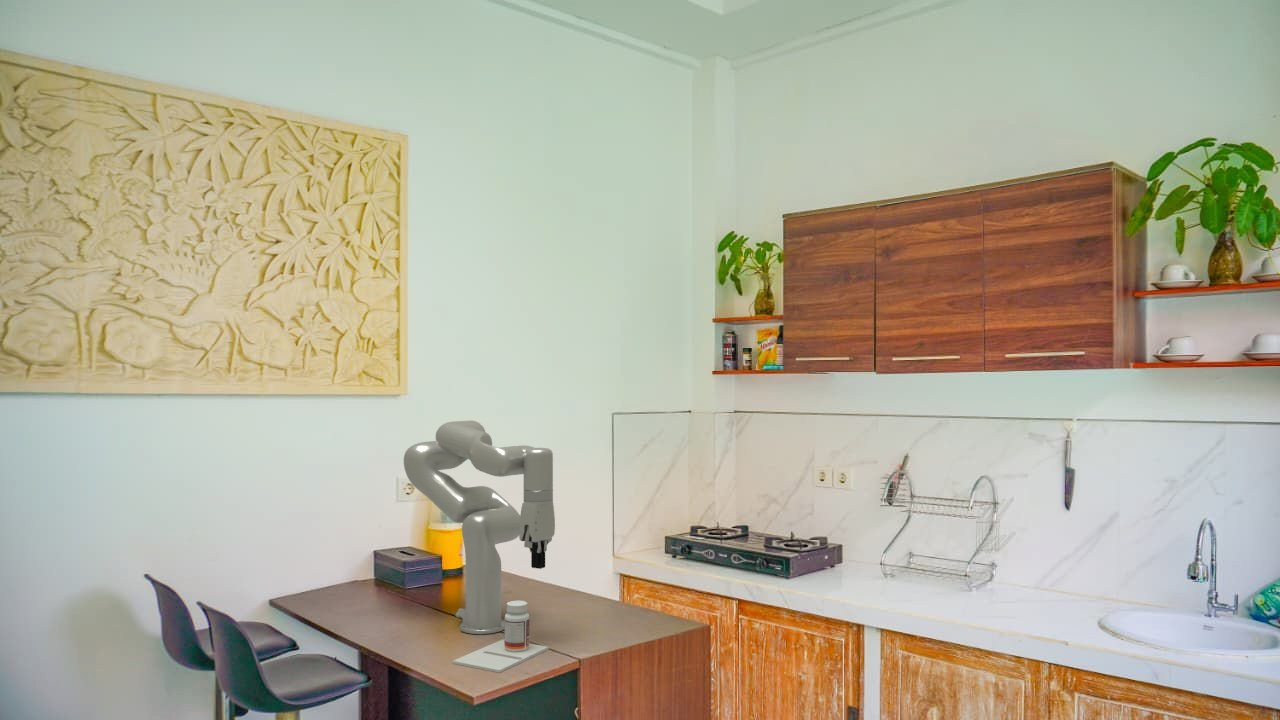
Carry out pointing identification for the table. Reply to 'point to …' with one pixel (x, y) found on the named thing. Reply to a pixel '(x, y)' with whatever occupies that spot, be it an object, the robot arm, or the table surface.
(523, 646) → the pill bottle
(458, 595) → the table surface
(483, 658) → the mat
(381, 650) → the table surface
